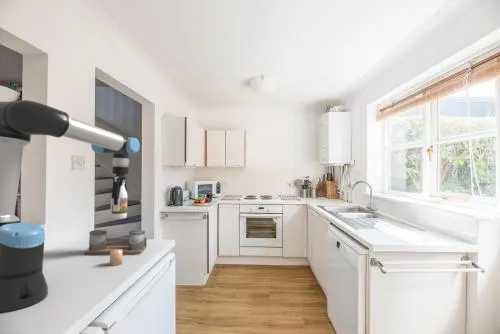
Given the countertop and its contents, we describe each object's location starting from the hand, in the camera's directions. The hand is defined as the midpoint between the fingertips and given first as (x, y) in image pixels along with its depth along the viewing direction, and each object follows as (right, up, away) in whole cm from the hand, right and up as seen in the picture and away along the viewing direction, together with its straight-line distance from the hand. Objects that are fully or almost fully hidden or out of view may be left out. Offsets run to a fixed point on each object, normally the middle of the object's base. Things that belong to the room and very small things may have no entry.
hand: (118, 210), depth 137 cm
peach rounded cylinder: (+8, -21, -19) cm, 29 cm away
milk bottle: (0, -4, 0) cm, 4 cm away
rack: (-1, -21, 0) cm, 21 cm away
